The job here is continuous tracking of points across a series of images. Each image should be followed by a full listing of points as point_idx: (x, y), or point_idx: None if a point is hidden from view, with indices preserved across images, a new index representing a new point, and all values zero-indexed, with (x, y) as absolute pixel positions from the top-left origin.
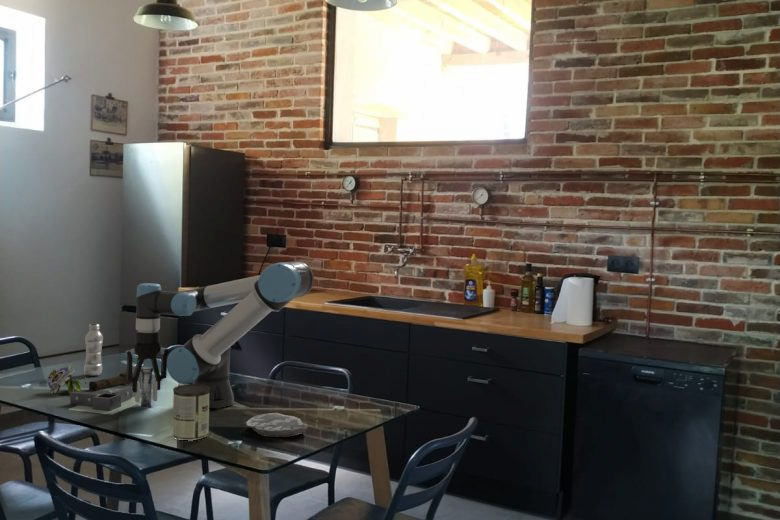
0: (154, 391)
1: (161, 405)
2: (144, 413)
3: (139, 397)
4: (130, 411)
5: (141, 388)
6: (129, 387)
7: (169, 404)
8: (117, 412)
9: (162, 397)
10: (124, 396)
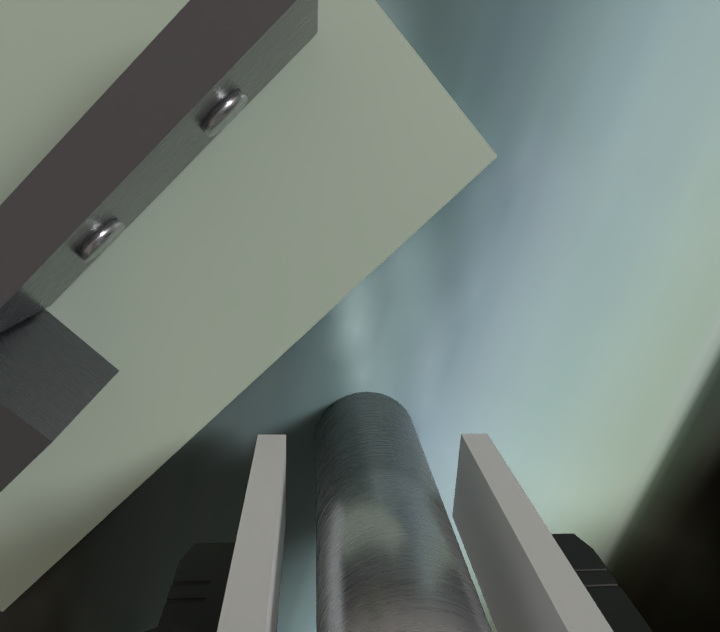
0: (488, 583)
1: (525, 414)
2: (298, 605)
3: (281, 563)
4: (195, 509)
5: (317, 605)
6: (246, 55)
7: (605, 407)
8: (55, 562)
9: (680, 80)
10: (172, 165)
